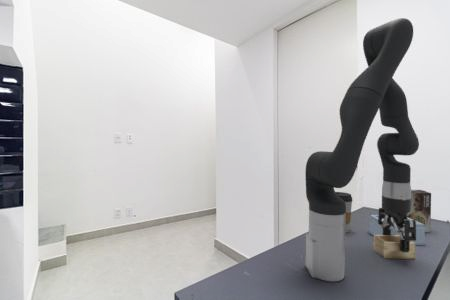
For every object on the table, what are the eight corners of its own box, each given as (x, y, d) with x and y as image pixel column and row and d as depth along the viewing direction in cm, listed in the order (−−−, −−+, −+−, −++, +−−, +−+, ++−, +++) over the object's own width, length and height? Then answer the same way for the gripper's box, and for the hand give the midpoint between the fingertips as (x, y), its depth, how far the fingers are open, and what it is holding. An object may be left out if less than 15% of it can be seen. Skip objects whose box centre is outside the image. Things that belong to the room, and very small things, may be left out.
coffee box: (419, 227, 101) (420, 189, 100) (430, 232, 94) (432, 192, 94) (396, 226, 101) (397, 188, 101) (406, 231, 95) (407, 192, 94)
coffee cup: (328, 231, 94) (329, 194, 94) (329, 225, 102) (330, 190, 101) (351, 235, 90) (352, 197, 90) (351, 228, 98) (352, 193, 97)
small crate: (384, 258, 73) (385, 242, 73) (373, 249, 79) (373, 234, 79) (414, 259, 73) (415, 243, 72) (401, 250, 79) (401, 235, 78)
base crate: (386, 244, 83) (386, 224, 83) (368, 232, 94) (368, 214, 94) (424, 245, 83) (425, 225, 82) (402, 233, 94) (402, 215, 93)
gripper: (371, 190, 82) (370, 236, 83) (399, 201, 68) (398, 256, 69) (393, 190, 82) (392, 236, 83) (426, 201, 68) (424, 256, 68)
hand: (395, 245), depth 76 cm, fingers open, 8 cm apart
